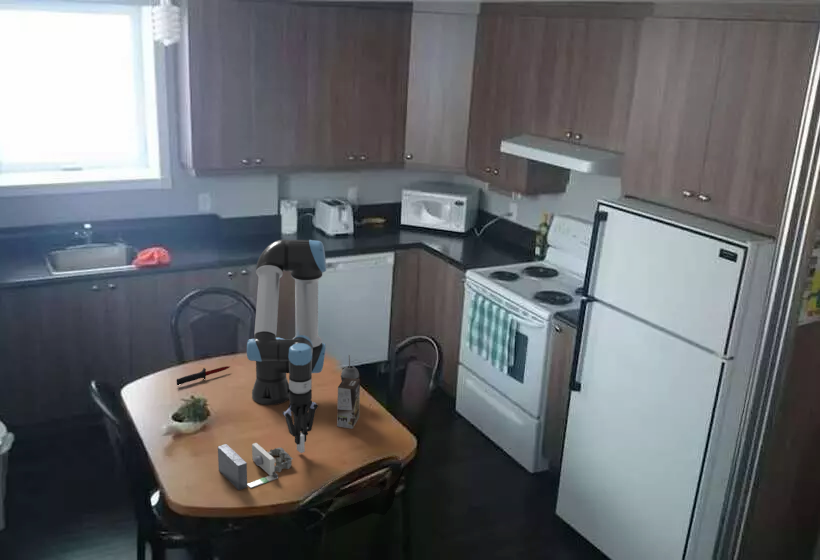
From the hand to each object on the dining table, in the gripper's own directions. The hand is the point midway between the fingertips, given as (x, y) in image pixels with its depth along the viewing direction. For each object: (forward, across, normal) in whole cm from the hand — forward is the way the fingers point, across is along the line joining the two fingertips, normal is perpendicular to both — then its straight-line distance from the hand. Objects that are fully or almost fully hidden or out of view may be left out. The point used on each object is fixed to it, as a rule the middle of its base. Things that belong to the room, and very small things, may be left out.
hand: (300, 450), depth 271 cm
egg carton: (+2, -9, 0) cm, 9 cm away
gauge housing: (+1, -20, 0) cm, 20 cm away
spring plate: (+1, -15, -1) cm, 15 cm away
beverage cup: (+2, +35, +21) cm, 41 cm away
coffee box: (+2, +26, +9) cm, 28 cm away
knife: (+2, -2, +71) cm, 71 cm away
